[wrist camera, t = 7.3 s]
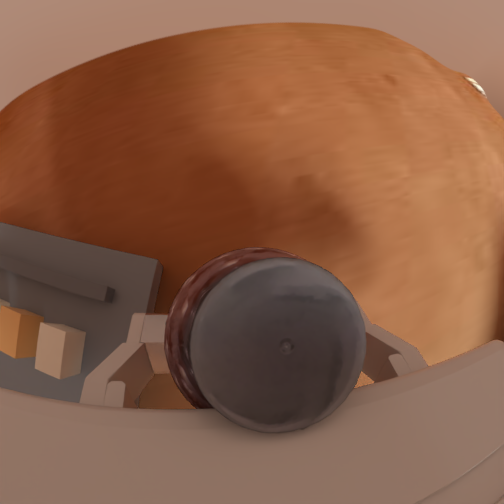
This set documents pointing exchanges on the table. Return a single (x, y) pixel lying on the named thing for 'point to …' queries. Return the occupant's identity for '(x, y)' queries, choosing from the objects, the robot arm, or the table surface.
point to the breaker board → (65, 309)
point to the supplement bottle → (265, 340)
